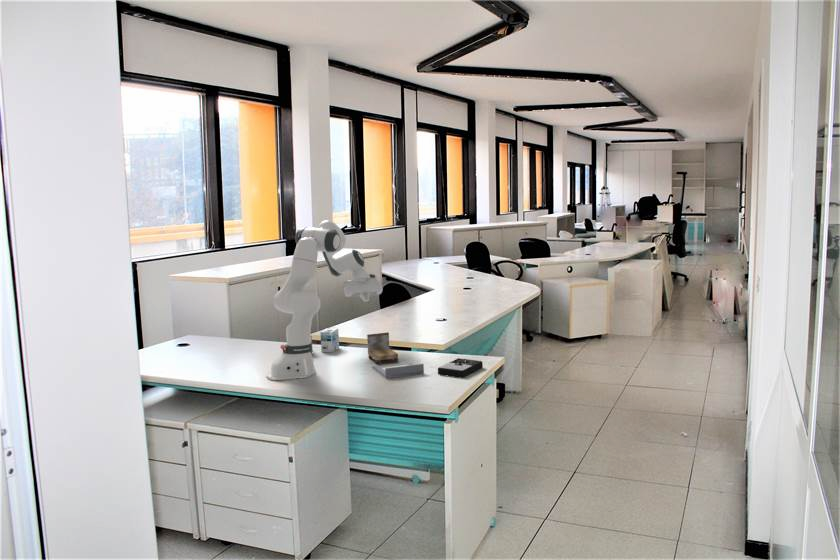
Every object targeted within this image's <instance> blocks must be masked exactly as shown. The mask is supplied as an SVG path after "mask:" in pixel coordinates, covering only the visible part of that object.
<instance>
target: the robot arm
mask: <svg viewBox="0 0 840 560" xmlns="http://www.w3.org/2000/svg"><path fill="white" fill-rule="evenodd" d="M346 239H347V238H346V236H345V233H344V232H343V230H342V229H341V228H340V227H339V226H338V225H337V224H336V223H335V222H333V221H332V220H329V219H328V220H327V219H326V220H323V221H321V222H320V223H319V224H318V225H317V227H308V226H303V227H299V228H298V230H297V231H296V232H295V236H294V240H295V243H296V247H295V249H294V251H293V252H294V253H293V256H292V261H291V264H290V265H291V266H290V270H289V275H288V276H287V279H286V281H285V283H284V284H283V285H282V287H281V288H280V290H278V291H277V292H276V293H275V294H274V297H273V299H272V301H273V306H274V308H275V309H276V310H277V311H278V312H279V311H280V312H282V313H285V314H292V318H291V322H290V323H289V324H288V325H287V326H286V328H285V336H286V338H285V339H286V344H283V343H282V344H280V347H279V348H281V350H282V353H281V354H280V355H279V356H278V357H276V358H275V359H274V360H273V361H272V363H271V368H270V369H271V370H269V371H267V372H266V378H267V379H268V380H270V381H283V380H284V381H286V380H294V379H296V378H299V379H306V377H307V378H309V377H310V376H313V375H315V374H316V373H317V371H316V367H315V365H314V360H313V353H314V352H313V342H312V343H311V336H312V335H311V334H312V333H311V328H312V323H313V321H312V320H313V318H314V316H316V314H317V313H318V312H319V310H320V309H321V299H320V297H319V296H318V295H317V294H316V293H313V292H310V291H308V290H305V289H306V287H307V286H308V285H309V284H310V283H312V281H313V280H314V278H315V273H316V268H317V263H318V255H319V252H321V253H322V255H323V258H324V260H325V262H326V265H327V269H328V271H329V273H330V274H331V275H332V276H334V277H339V276H342V275H343V274H344V273H347V272H349V274H350V279H351V280H345V281H343V282H342V288H343V289H344V291H343V292H344V296H345V297H348V298H350V297H359V298H361V299H362V302H370V296H371V295H373V296H374V295H381V294H382V293H383V290H384V289H383V285H382V283H381V281H380V280H379V279H378V275H377V274H373V273H368V272H367V270H366V265H365V260H364V257H363V254H361V252H360V251H358V250H356V249H350V250H348V251H345V252H344V253H342V254H338V255H337V256H334V255H335V254H337V253H339V252H340V251H341V250H343V248H344V247H345V246H346ZM312 352H313V353H312ZM296 380H297V379H296Z"/></svg>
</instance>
